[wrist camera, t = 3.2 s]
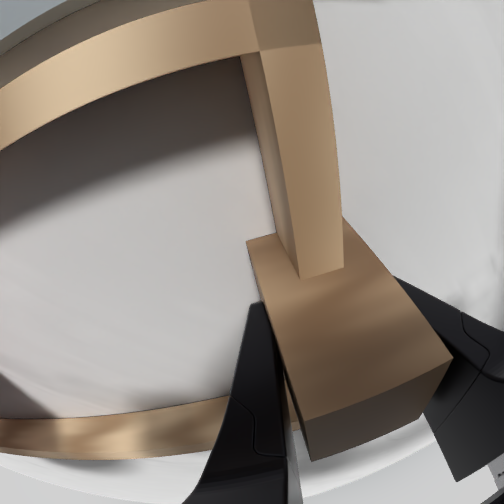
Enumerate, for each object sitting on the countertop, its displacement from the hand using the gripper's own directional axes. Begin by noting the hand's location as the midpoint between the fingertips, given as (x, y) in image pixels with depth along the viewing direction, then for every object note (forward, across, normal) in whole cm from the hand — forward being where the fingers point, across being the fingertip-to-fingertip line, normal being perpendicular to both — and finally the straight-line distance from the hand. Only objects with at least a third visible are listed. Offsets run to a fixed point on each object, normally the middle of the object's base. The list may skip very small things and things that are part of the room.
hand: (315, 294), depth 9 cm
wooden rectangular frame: (+2, +13, 0) cm, 13 cm away
